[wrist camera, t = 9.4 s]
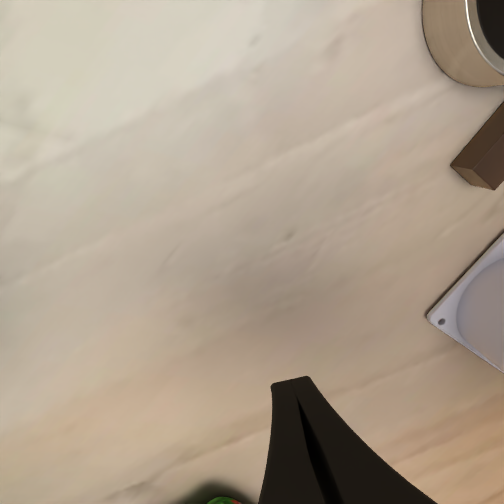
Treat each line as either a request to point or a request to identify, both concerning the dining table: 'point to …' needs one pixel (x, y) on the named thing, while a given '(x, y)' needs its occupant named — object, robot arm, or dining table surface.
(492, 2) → the steel pan
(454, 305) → the robot arm
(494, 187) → the corner stop
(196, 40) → the dining table surface
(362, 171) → the dining table surface
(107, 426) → the dining table surface
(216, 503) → the snack package
